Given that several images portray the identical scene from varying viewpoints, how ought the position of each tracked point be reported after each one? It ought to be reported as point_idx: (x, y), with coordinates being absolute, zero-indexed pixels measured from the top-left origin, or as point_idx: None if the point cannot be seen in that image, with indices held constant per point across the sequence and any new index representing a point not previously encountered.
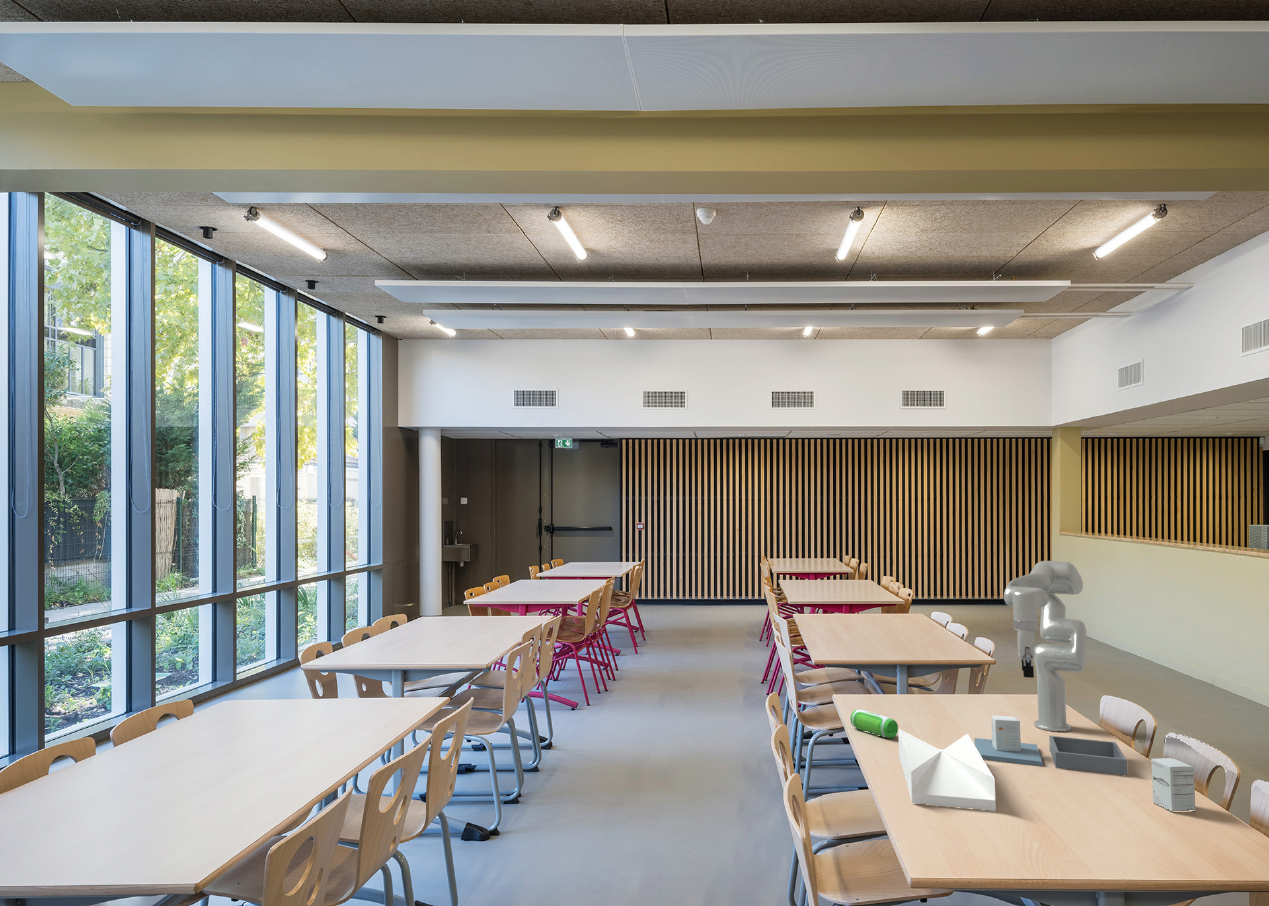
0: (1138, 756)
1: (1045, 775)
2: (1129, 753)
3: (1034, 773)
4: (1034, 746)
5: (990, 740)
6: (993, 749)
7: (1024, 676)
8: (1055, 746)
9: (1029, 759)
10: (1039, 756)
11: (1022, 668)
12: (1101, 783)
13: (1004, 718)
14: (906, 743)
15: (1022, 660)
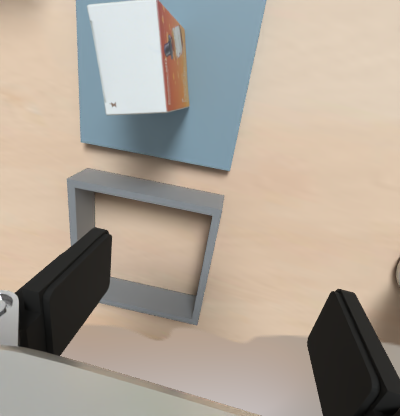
0: (217, 335)
1: (23, 128)
2: (233, 330)
3: (25, 106)
4: (208, 159)
5: (247, 34)
6: None
7: (95, 232)
8: (118, 194)
9: (85, 114)
10: (121, 147)
11: (337, 301)
12: (27, 221)
13: (117, 55)
14: None
15: (370, 382)
